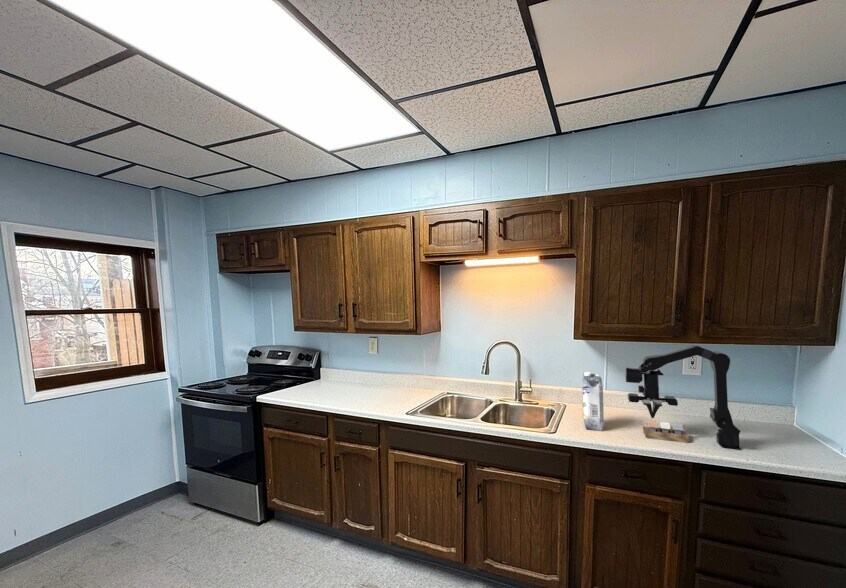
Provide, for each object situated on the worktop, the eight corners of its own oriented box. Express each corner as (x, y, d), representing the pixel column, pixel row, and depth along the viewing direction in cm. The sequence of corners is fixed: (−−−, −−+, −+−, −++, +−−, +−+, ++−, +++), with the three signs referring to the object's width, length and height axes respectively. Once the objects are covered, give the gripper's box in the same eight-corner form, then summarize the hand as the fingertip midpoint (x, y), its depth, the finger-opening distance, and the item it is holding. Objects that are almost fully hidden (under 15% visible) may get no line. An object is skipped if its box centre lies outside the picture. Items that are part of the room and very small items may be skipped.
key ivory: (668, 432, 161) (668, 422, 161) (670, 435, 158) (670, 424, 158) (659, 431, 163) (659, 421, 163) (661, 434, 160) (661, 423, 160)
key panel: (684, 436, 161) (684, 430, 161) (688, 442, 154) (688, 436, 154) (643, 432, 167) (643, 426, 167) (645, 437, 160) (645, 431, 161)
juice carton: (602, 424, 178) (600, 371, 178) (604, 432, 168) (603, 375, 168) (582, 422, 181) (581, 370, 181) (584, 430, 171) (582, 374, 172)
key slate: (681, 433, 160) (680, 423, 160) (683, 436, 156) (682, 425, 156) (672, 433, 161) (671, 422, 161) (674, 435, 158) (673, 425, 158)
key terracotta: (656, 431, 163) (655, 420, 163) (657, 433, 160) (657, 423, 160) (647, 430, 165) (647, 420, 165) (648, 432, 162) (648, 422, 162)
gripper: (671, 381, 166) (672, 414, 166) (625, 378, 174) (626, 410, 174) (677, 387, 156) (678, 422, 156) (628, 384, 163) (630, 417, 163)
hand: (652, 417), depth 162 cm, fingers closed
